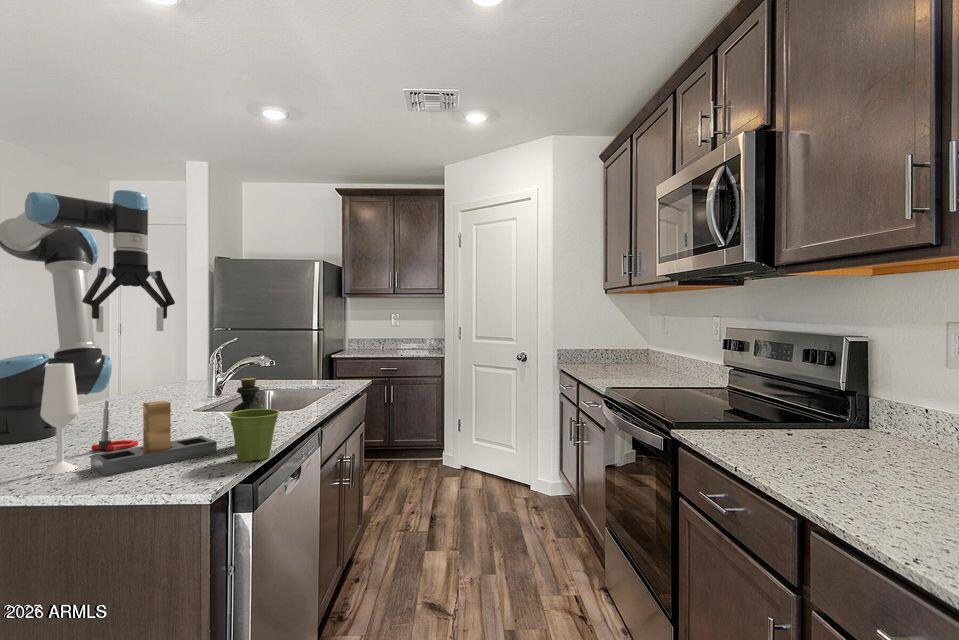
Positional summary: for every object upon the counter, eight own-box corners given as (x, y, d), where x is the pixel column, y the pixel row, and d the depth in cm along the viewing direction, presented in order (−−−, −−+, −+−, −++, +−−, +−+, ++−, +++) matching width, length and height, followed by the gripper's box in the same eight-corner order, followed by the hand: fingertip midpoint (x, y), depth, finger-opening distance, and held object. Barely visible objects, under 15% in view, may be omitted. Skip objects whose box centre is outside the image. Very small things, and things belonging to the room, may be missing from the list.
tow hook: (118, 443, 140) (87, 450, 131) (120, 396, 141) (90, 400, 132) (145, 445, 139) (116, 452, 130) (147, 397, 140) (118, 401, 130)
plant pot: (274, 464, 120) (274, 416, 120) (220, 466, 118) (220, 418, 118) (284, 450, 132) (284, 407, 132) (236, 452, 130) (236, 408, 130)
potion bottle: (224, 448, 134) (224, 380, 134) (243, 441, 142) (243, 376, 142) (253, 450, 133) (253, 381, 132) (270, 442, 141) (270, 377, 140)
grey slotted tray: (90, 468, 116) (90, 455, 116) (201, 447, 135) (201, 436, 135) (103, 476, 111) (102, 462, 111) (216, 453, 129) (216, 441, 129)
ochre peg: (143, 460, 122) (143, 402, 122) (163, 456, 126) (163, 400, 126) (150, 464, 120) (150, 405, 120) (170, 460, 123) (170, 402, 123)
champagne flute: (83, 464, 119) (83, 362, 119) (72, 473, 113) (71, 365, 113) (48, 467, 117) (48, 363, 116) (34, 476, 110) (34, 366, 110)
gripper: (75, 244, 122) (76, 333, 122) (187, 254, 141) (187, 330, 141) (67, 246, 126) (67, 332, 126) (176, 256, 146) (177, 330, 146)
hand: (131, 331), depth 134 cm, fingers open, 13 cm apart
